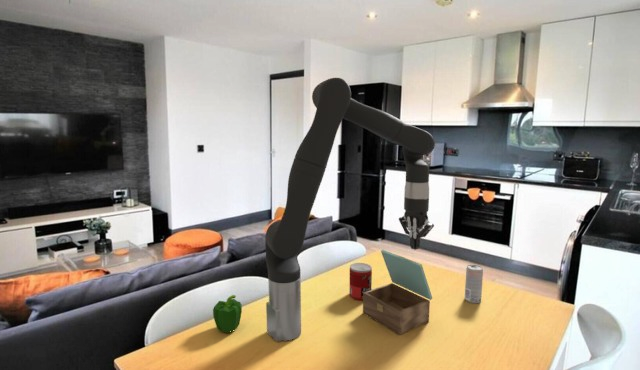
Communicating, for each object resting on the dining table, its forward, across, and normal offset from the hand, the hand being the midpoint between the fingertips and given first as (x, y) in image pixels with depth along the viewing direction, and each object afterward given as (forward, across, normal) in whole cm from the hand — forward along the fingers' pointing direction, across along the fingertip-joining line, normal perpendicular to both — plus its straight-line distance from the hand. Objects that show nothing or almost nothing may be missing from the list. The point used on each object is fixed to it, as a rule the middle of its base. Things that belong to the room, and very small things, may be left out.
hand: (414, 248), depth 118 cm
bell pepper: (+21, -24, -54) cm, 63 cm away
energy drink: (+21, +7, +23) cm, 32 cm away
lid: (+8, 0, -4) cm, 9 cm away
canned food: (+21, -18, -7) cm, 29 cm away
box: (+21, 0, -8) cm, 23 cm away
